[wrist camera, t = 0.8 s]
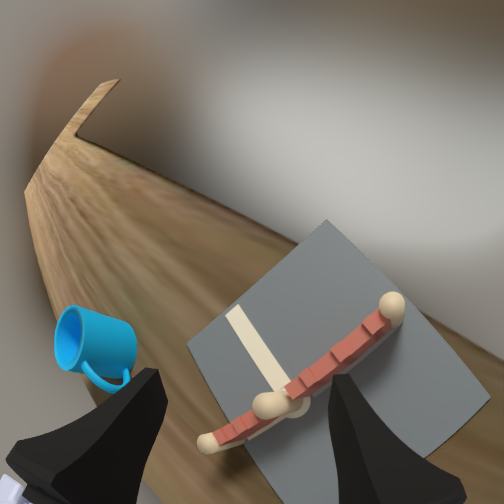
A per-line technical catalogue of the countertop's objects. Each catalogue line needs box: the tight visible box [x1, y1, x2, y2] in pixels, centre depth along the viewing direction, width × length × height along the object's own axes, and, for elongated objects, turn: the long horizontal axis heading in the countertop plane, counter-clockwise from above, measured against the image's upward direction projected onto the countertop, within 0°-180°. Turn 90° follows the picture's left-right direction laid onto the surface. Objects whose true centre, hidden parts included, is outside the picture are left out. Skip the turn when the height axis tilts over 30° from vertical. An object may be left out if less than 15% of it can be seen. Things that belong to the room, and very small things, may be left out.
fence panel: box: [284, 292, 405, 400], centre depth 20 cm, size 10×2×5 cm, turn 124°
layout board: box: [187, 220, 491, 504], centre depth 23 cm, size 23×20×1 cm
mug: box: [54, 305, 137, 394], centre depth 31 cm, size 12×8×8 cm
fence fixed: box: [197, 391, 303, 454], centre depth 21 cm, size 8×2×6 cm, turn 124°
